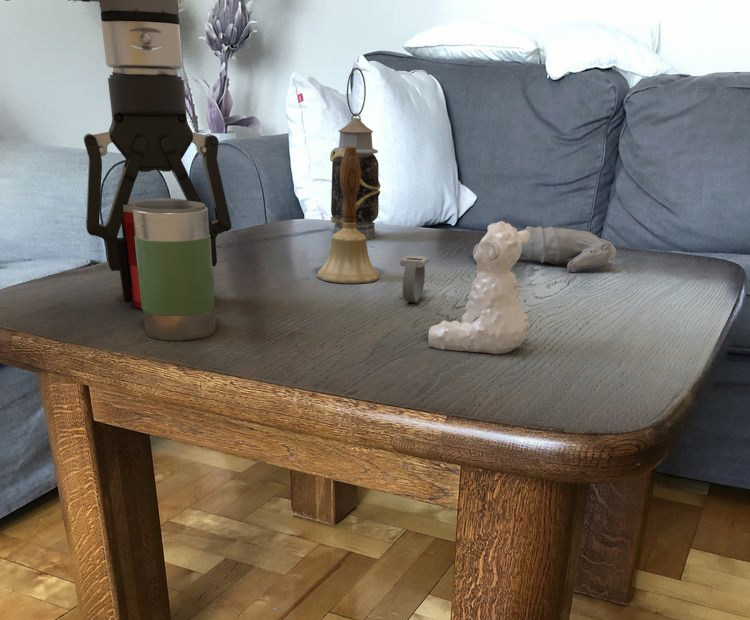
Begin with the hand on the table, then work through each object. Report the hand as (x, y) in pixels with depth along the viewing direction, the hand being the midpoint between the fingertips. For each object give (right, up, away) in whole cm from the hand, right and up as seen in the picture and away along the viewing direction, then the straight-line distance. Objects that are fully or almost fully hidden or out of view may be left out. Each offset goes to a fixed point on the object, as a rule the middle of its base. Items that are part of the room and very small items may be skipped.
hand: (166, 297), depth 93 cm
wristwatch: (+28, 0, +4) cm, 29 cm away
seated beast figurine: (+35, -8, -11) cm, 38 cm away
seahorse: (+48, +11, +26) cm, 56 cm away
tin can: (+4, -6, -10) cm, 12 cm away
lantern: (+21, +21, +43) cm, 52 cm away
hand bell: (+20, +6, +15) cm, 26 cm away
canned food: (0, -1, 0) cm, 1 cm away
